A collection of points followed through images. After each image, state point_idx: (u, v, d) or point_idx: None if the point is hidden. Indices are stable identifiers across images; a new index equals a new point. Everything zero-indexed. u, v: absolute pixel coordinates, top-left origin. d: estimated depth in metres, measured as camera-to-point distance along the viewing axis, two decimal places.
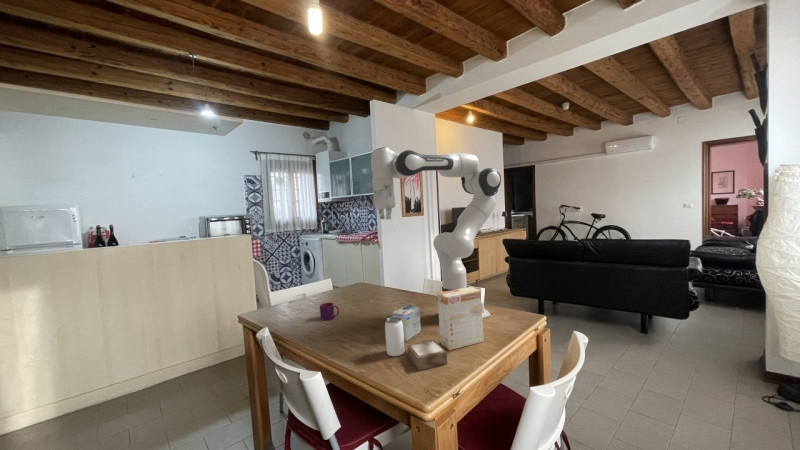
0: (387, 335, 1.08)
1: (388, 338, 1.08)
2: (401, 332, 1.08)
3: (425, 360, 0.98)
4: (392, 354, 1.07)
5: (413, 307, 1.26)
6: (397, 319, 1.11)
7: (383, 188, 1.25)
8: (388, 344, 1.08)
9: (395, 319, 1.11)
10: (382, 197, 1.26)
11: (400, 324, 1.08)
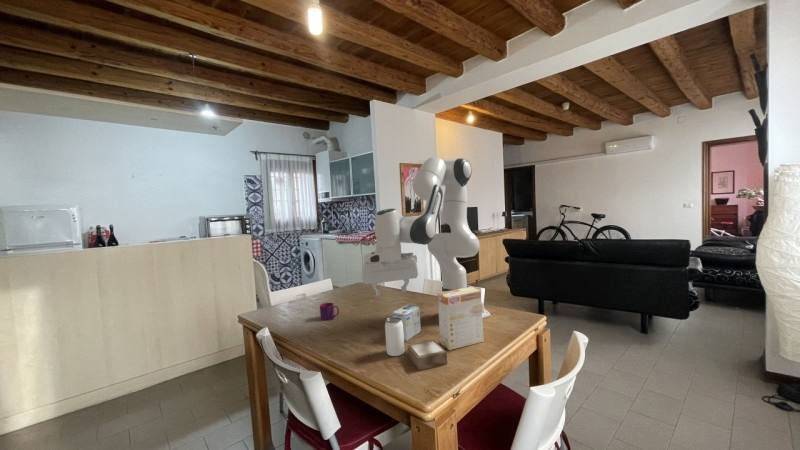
0: (387, 335, 1.08)
1: (388, 338, 1.08)
2: (401, 332, 1.08)
3: (425, 360, 0.98)
4: (392, 354, 1.07)
5: (413, 307, 1.26)
6: (397, 319, 1.11)
7: (401, 257, 1.09)
8: (388, 344, 1.08)
9: (395, 319, 1.11)
10: (399, 267, 1.09)
11: (400, 324, 1.08)
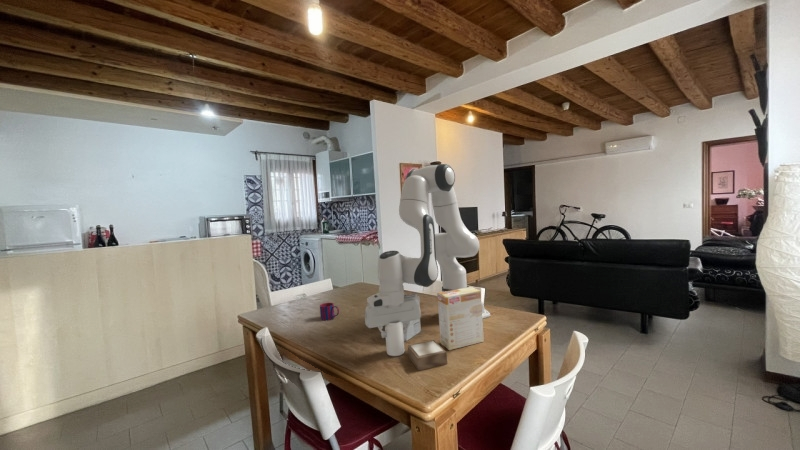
0: (387, 335, 1.08)
1: (388, 338, 1.08)
2: (401, 332, 1.08)
3: (425, 360, 0.98)
4: (392, 354, 1.07)
5: None
6: None
7: (404, 299, 1.10)
8: (388, 344, 1.08)
9: None
10: (402, 309, 1.09)
11: (400, 324, 1.08)
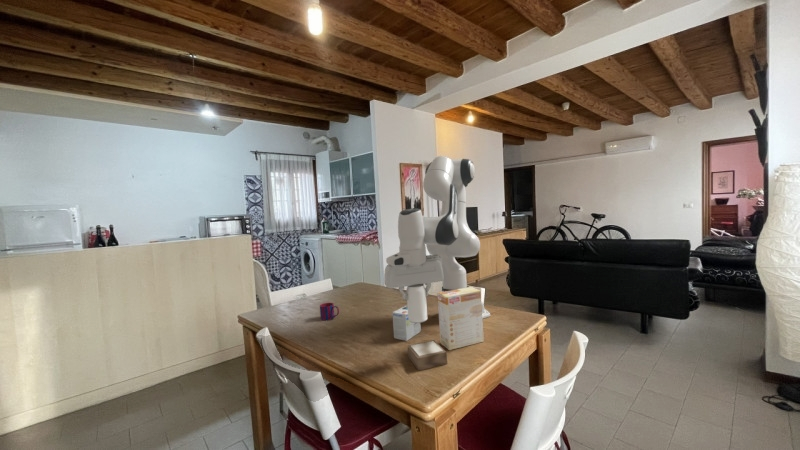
0: (409, 300, 1.02)
1: (410, 303, 1.02)
2: (424, 297, 1.02)
3: (425, 360, 0.98)
4: (415, 320, 1.01)
5: None
6: (419, 284, 1.05)
7: (426, 259, 1.03)
8: (410, 310, 1.02)
9: None
10: (424, 270, 1.03)
11: (423, 288, 1.02)
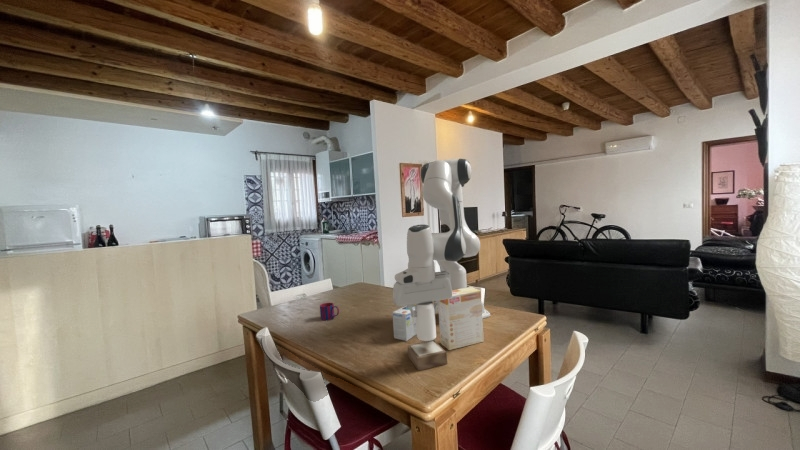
0: (418, 318, 1.00)
1: (419, 321, 1.00)
2: (433, 315, 1.01)
3: (425, 360, 0.98)
4: (424, 339, 1.00)
5: (413, 307, 1.26)
6: (428, 302, 1.04)
7: None
8: (419, 328, 1.00)
9: (425, 302, 1.04)
10: (433, 287, 1.02)
11: (432, 306, 1.01)
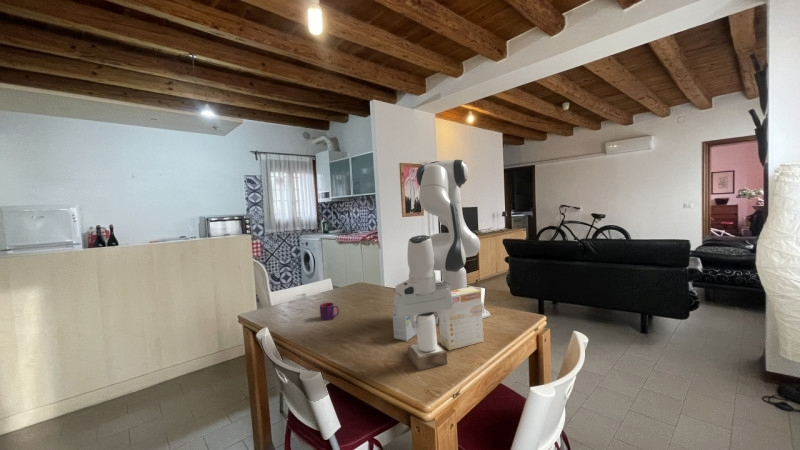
0: (419, 329, 1.00)
1: (420, 332, 1.00)
2: (434, 326, 1.01)
3: (425, 360, 0.98)
4: (425, 349, 1.00)
5: None
6: None
7: None
8: (420, 339, 1.00)
9: None
10: (434, 298, 1.02)
11: (433, 317, 1.01)
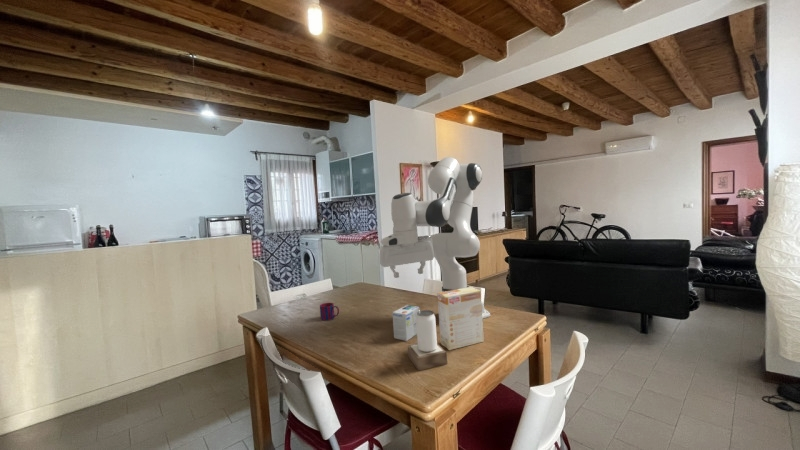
0: (419, 329, 1.00)
1: (420, 332, 1.00)
2: (434, 326, 1.01)
3: (425, 360, 0.98)
4: (425, 349, 1.00)
5: (413, 307, 1.26)
6: (429, 312, 1.03)
7: (417, 239, 1.12)
8: (420, 339, 1.00)
9: (427, 312, 1.03)
10: (416, 250, 1.12)
11: (433, 317, 1.01)
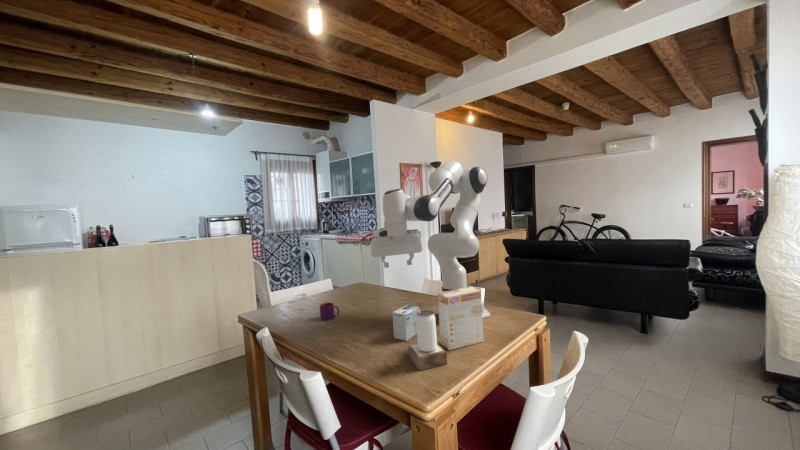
0: (419, 329, 1.00)
1: (420, 332, 1.00)
2: (434, 326, 1.01)
3: (425, 360, 0.98)
4: (425, 349, 1.00)
5: (413, 307, 1.26)
6: (429, 312, 1.03)
7: (407, 232, 1.20)
8: (420, 339, 1.00)
9: (427, 312, 1.03)
10: (405, 242, 1.19)
11: (433, 317, 1.01)
